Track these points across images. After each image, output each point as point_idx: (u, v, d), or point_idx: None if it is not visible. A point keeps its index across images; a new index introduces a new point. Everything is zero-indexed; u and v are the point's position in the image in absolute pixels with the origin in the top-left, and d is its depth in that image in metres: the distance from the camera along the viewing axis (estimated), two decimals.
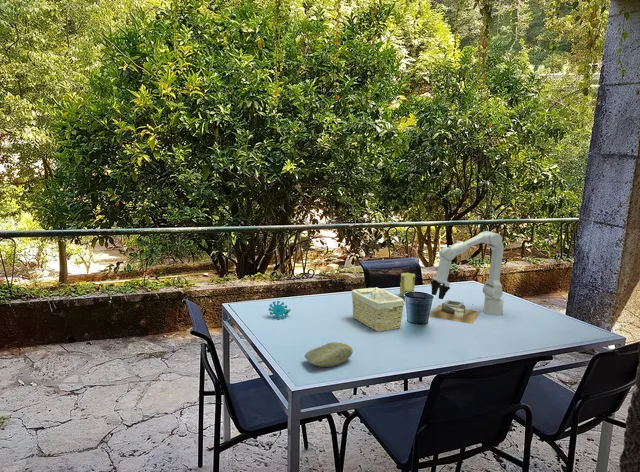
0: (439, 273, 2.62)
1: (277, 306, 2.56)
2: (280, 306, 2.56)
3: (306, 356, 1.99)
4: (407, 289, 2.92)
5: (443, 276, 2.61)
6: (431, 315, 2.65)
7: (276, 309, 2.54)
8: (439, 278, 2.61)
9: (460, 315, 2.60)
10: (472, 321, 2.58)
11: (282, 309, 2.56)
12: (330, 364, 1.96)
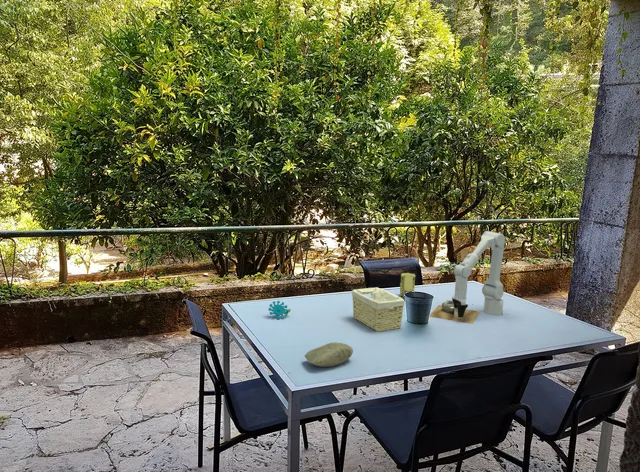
0: (456, 291, 2.59)
1: (277, 306, 2.56)
2: (280, 306, 2.56)
3: (306, 356, 1.99)
4: (407, 289, 2.91)
5: (460, 294, 2.58)
6: (431, 315, 2.65)
7: (276, 309, 2.55)
8: (457, 297, 2.59)
9: None
10: (472, 321, 2.58)
11: (282, 309, 2.56)
12: (330, 364, 1.96)
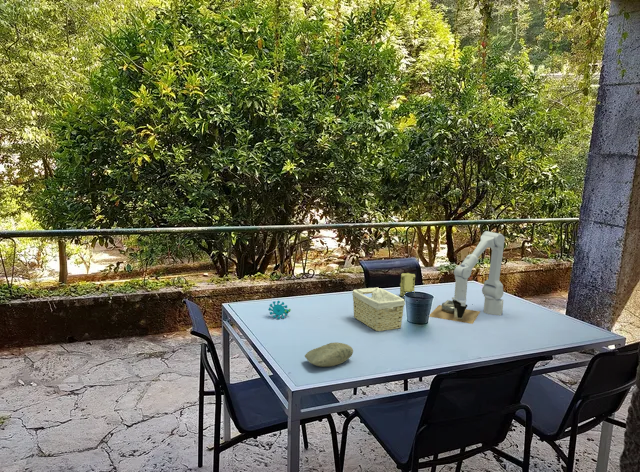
0: (456, 292, 2.60)
1: (277, 306, 2.56)
2: (280, 306, 2.56)
3: (306, 356, 1.99)
4: (407, 289, 2.91)
5: (460, 295, 2.58)
6: (431, 315, 2.65)
7: (276, 309, 2.55)
8: (456, 298, 2.59)
9: None
10: (472, 321, 2.58)
11: (282, 309, 2.56)
12: (330, 364, 1.96)
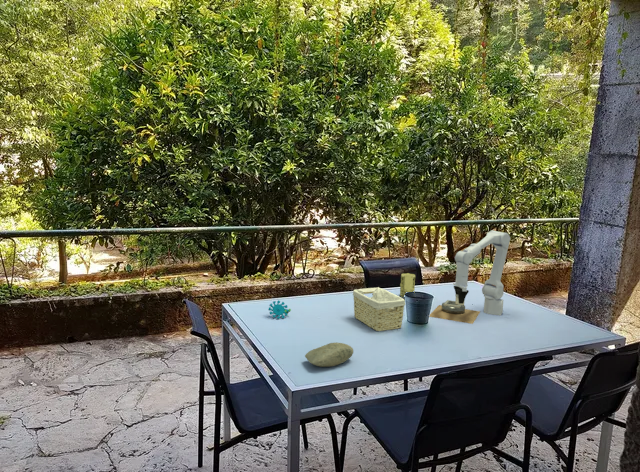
0: (457, 278, 2.58)
1: (277, 306, 2.56)
2: (280, 306, 2.57)
3: (306, 356, 1.99)
4: (407, 290, 2.90)
5: (461, 281, 2.57)
6: (431, 315, 2.65)
7: (276, 309, 2.55)
8: (458, 283, 2.58)
9: None
10: (472, 321, 2.58)
11: (282, 309, 2.56)
12: (330, 364, 1.96)
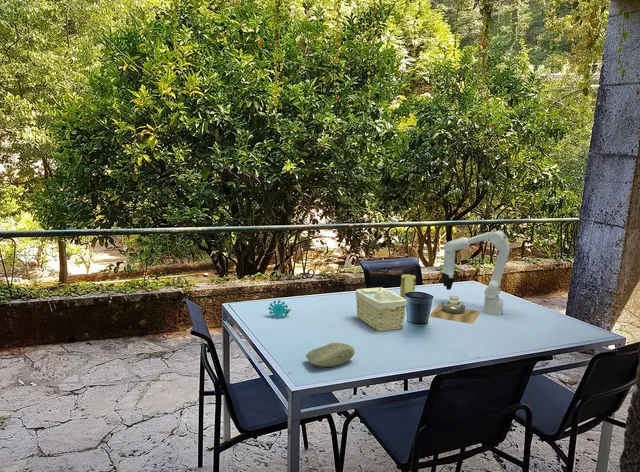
0: (444, 266, 2.82)
1: (277, 305, 2.57)
2: (280, 306, 2.57)
3: (307, 356, 1.99)
4: (407, 291, 2.87)
5: (448, 268, 2.80)
6: (431, 315, 2.65)
7: (276, 308, 2.56)
8: (445, 270, 2.81)
9: (455, 303, 2.72)
10: (472, 321, 2.58)
11: (282, 309, 2.56)
12: (331, 364, 1.96)
